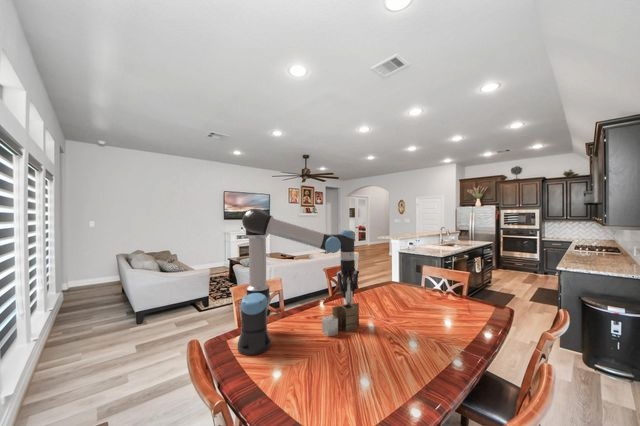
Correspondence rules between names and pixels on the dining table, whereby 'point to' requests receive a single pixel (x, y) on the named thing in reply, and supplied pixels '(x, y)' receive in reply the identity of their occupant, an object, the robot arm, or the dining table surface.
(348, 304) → the pin
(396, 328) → the dining table surface
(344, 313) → the brown holed block
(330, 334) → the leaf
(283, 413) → the dining table surface
